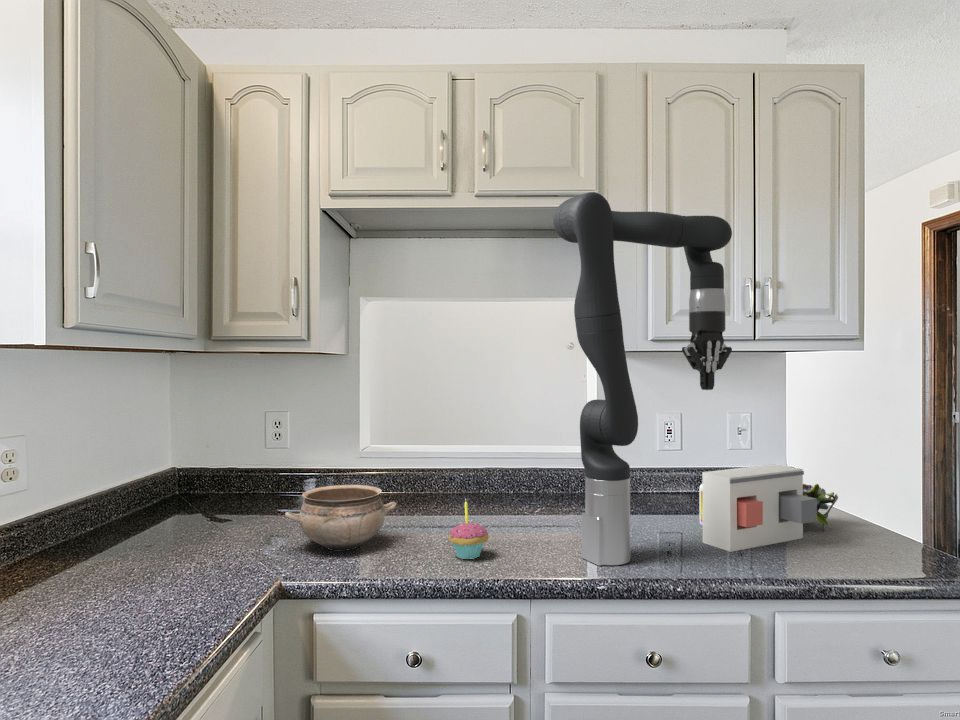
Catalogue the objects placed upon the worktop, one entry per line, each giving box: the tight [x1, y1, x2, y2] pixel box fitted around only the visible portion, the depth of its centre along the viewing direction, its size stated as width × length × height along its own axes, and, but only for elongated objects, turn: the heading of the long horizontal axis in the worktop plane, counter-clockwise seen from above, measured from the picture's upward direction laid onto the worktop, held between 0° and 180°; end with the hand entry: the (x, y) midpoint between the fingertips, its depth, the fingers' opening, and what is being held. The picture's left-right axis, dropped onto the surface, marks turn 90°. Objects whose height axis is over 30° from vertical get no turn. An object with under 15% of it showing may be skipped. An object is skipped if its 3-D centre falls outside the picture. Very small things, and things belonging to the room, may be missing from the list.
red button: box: [737, 497, 763, 527], centre depth 146 cm, size 5×6×5 cm
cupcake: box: [448, 498, 490, 559], centre depth 141 cm, size 9×8×12 cm
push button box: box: [701, 463, 805, 553], centre depth 151 cm, size 23×8×16 cm, turn 116°
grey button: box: [779, 494, 818, 525], centre depth 148 cm, size 5×6×5 cm
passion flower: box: [803, 483, 839, 532], centre depth 163 cm, size 13×12×14 cm
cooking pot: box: [284, 484, 397, 551], centre depth 149 cm, size 25×19×12 cm
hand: (707, 389), depth 145 cm, fingers closed
